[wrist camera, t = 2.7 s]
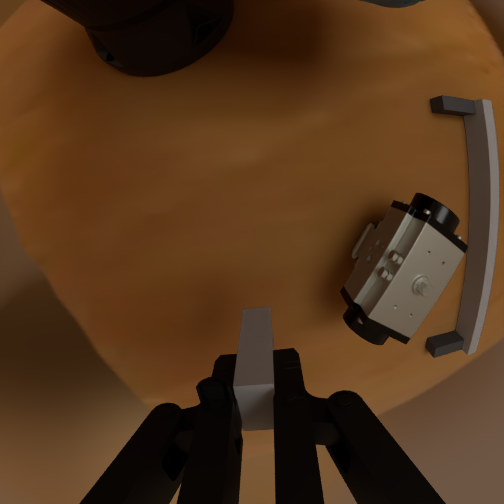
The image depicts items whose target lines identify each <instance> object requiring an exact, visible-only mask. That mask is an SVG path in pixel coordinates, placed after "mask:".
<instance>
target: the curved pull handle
mask: <svg viewBox="0 0 504 504" xmlns="http://www.w3.org/2000/svg"><path fill="white" fill-rule="evenodd" d="M430 102H431V108H432V112H434V113H444V114H452V115H460V116H464V123H465V131H466V140H467V151H468V165H469V193H470V207H469V235H468V250H467V261H466V270H465V278H464V285H463V292H462V299H461V304H460V310H459V315H458V320H457V325H456V330H455V331H452V332H448V333H444V334H441V335H437V336H433V337H429V338H427V343H426V348H427V350H428V351H429V352H430V354H431V355H432V356H433V358H435V357H438V356H442V355H445V354H448V353H452V352H455V351H458V350H461V349H462V350H463V351H464V352H465V353H466V354H467V355H469V354H472V353H475V352H476V349H477V346H478V342H479V339H480V336H481V333H482V329H483V325H484V320H485V316H486V312H487V307H488V302H489V297H490V292H491V286H492V280H493V274H494V267H495V259H496V250H497V239H498V225H499V161H498V147H497V137H496V128H495V121H494V114H493V108H492V104H491V101H489V100H484V99H480V100H475V101H473V100H467V99H462V98H456V97H450V96H443V95H442V96H438V97H435V98H432V99H430Z"/></svg>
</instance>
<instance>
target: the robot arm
mask: <svg viewBox="0 0 504 504" xmlns="http://www.w3.org/2000/svg"><path fill="white" fill-rule="evenodd" d="M41 1H42V2H44V3H46V4H48V5H49V6H51V7H53V8H55V9H56V10H58V11H60V12H61V13H63V14H65V15H66V16H68V17H69V18H71V19H73V20H74V21H76V22H78V23H79V24H81V25H82V26H84V27H85V30H86V32H87V34H88V36H89V38H90V40H91V42H92V44H93V47H94V49H95V51H96V52H97V54H98V55H99V56H100V57H101V58H102V59H103V60H104V61H105V62H106V63H107V64H109V65H111V66H112V67H114V68H116V69H117V70H119V71H121V72H124V73H126V74H130V75H135V76H156V75H162V74H166V73H170V72H173V71H176V70H179V69H181V68H183V67H185V66H188V65H189V64H191V63H193V62H195V61H196V60H198V59H199V58H201V57H202V56H204V55H205V54H206V53H208V52H209V51H210V50H211V49H212V48H213V47H214V46H215V45H216V44H217V43H218V42H219V41H220V40H221V38H222V37H223V36H224V34H225V33H226V31H227V29H228V27H229V25H230V23H231V20H232V17H233V11H234V2H233V0H41ZM360 1H365V2H369V3H373V4H376V5H380V6H384V7H390V8H402V7H407V6H411V5H414V4H416V3H418V2H419V1H425V0H360ZM196 390H197V393H198V396H199V399H200V404H199V405H197V406H194V407H190V408H186V409H181V408H180V407H179V406H178V405H176V404H174V403H164V404H160V405H158V406H156V407H155V408H154V409H153V410H152V411H151V412H150V414H149V415H148V416H147V418H146V419H145V420H144V421H143V423H142V424H141V425H140V427H139V428H138V430H137V431H136V432H135V433H134V435H133V436H132V437H131V439H130V440H129V441H128V442H127V444H126V445H125V446H124V447H123V449H122V450H121V451H120V453H119V454H118V455H117V457H116V458H115V459H114V460H113V462H112V463H111V464H110V466H109V467H108V468H107V469H106V471H105V472H104V473H103V474H102V476H101V477H100V478H99V480H98V481H97V482H96V483H95V485H94V486H93V487H92V488H91V490H90V491H89V492H88V493H87V495H86V496H85V497H84V499H83V500H82V501H81V502H80V504H169V503H170V502H171V500H172V498H173V496H174V495H175V493H176V491H177V489H178V488H179V486H180V484H181V487H180V491H179V496H178V500H177V504H238V503H239V490H240V476H241V462H242V447H243V438H242V434H241V430H242V428H243V431H252V430H268V429H274V450H275V493H276V494H275V497H276V504H324V499H323V491H322V485H321V477H320V471H319V464H318V457H317V451H316V444H317V445H318V444H319V445H325V446H326V448H327V450H328V452H329V454H330V456H331V458H332V459H333V461H334V463H335V465H336V467H337V468H338V470H339V472H340V474H341V476H342V477H343V479H344V481H345V483H346V484H347V486H348V488H349V490H350V491H351V493H352V495H353V497H354V498H355V500H356V502H357V504H446V503H445V502H444V501H443V500H442V498H441V497H440V496H439V495H438V493H437V492H436V491H435V490H434V488H433V487H432V486H431V485H430V483H429V482H428V481H427V480H426V478H425V477H424V476H423V475H422V474H421V472H420V471H419V470H418V468H417V467H416V466H415V465H414V464H413V462H412V461H411V460H410V459H409V457H408V456H407V455H406V453H405V452H404V451H403V450H402V448H401V447H400V446H399V445H398V443H397V442H396V441H395V440H394V438H393V437H392V436H391V435H390V433H389V432H388V431H387V430H386V428H385V427H384V426H383V425H382V423H381V422H380V421H379V420H378V418H377V417H376V416H375V414H374V413H373V412H372V411H371V409H370V408H369V407H368V406H367V404H366V403H365V402H364V401H363V399H362V398H361V397H360V396H359V395H358V394H357V393H355V392H352V391H345V390H343V391H338V392H336V393H334V394H332V395H331V396H330V397H329V398H328V399H326V398H318V397H314V396H312V395H310V394H309V393H308V392H307V391H306V389H305V386H304V381H303V375H302V369H301V364H300V358H299V353H298V352H297V351H296V350H295V349H294V348H290V349H280V350H274V341H273V332H272V323H271V313H270V307H260V308H250V309H243V313H242V321H241V329H240V337H239V344H238V352H237V354H228V355H220V356H219V357H218V359H217V360H216V361H215V364H214V370H213V373H212V377H208V378H206V379H203V380H202V381H200V382H199V383H198V385H197V386H196Z"/></svg>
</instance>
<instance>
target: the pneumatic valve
mask: <svg viewBox="0 0 504 504" xmlns="http://www.w3.org/2000/svg"><path fill="white" fill-rule="evenodd" d="M459 222H460V220H459V218H458V217H457V216H456V215H455V214H454V213H453V212H452V211H451V210H450V209H448V208H447V207H446V206H444V205H443V204H441V203H440V202H438V201H436V200H435V199H433V198H431V197H429V196H427V195H424V194H422V193H416V194H415V195H414V197H413V199H412V201H411V203H410V205H407V204H406V203H405V202H403V201H402V202H398V201H395V200H394V201H393V203H392V205H391V207H390V208H389V210H388V212H387V214H386V216H385V217H384V219H383V221H380V222H379V224H378V226H377V228H376V229H374V227H375V225H374V224H372V223H370V224H369V225H366V227H365V229H364V230H363V232H362V234H361V236H360V237H359V239H358V241H357V242H356V244H355V246H354V248H353V249H352V255H351V256H352V258H353V259H355V258H357V257H358V258H359V259H358V260H357V262H356V263H355V265H354V267H355V269H354V270H353V272H352V273H351V275H350V277H349V278H348V280H347V281H346V283H345V285H344V286H343V288H342V289H341V291H340V293H341V295H342V296H343V298H344V300H345V302H346V303H347V305H348V308H347V310H346V311H345V313H344V314H343V319H344V321H345V323H346V324H347V325H348V326H349V328H350V329H351V330H353V331H354V332H355V333H356V334H357V335H359V336H360V337H361V338H363V339H365V340H366V341H368V342H370V343H372V344H375V345H383V344H384V343H385V341H386V340H387V339H388V337H392V338H394V339H395V340H398V341H400V342H402V343H404V344H407V343H408V341H409V340H410V339H411V337H412V336H413V335H414V333H415V332H416V330H417V329H418V328H419V326H420V325H421V323H422V322H423V321H424V319H425V318H426V316H427V315H428V313H429V312H430V310H431V309H432V307H433V306H434V304H435V303H436V301H437V300H438V298H439V297H440V295H441V293H442V292H443V290H444V289H445V287H446V285H447V284H448V282H449V280H450V279H451V277H452V275H453V274H454V272H455V270H456V268H457V267H458V265H459V263H460V261H461V259H462V258H463V256H464V254H465V252H466V250H467V248H468V246H467V245H466V244H465V243H464V242H463V241H461V240H462V238H461V237H460V236H459V235H454V232H455V230H456V228H457V226H458V224H459Z"/></svg>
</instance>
